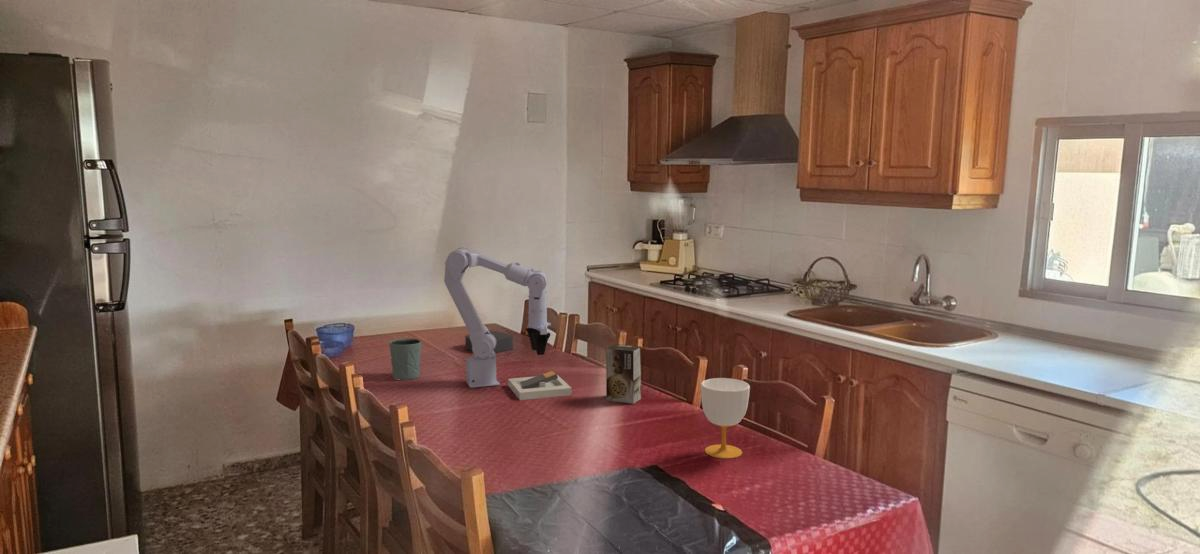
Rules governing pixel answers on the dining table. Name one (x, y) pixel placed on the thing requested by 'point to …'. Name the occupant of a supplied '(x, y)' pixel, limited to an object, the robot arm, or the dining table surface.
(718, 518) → the dining table surface
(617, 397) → the coffee box
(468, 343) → the streaming box
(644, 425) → the dining table surface
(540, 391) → the breaker housing
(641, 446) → the dining table surface
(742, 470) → the dining table surface
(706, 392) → the cup
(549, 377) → the rocker
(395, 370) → the green plant pot
